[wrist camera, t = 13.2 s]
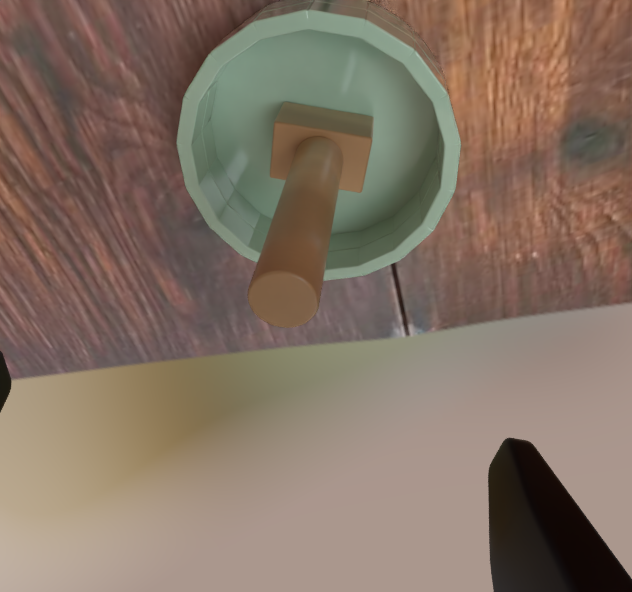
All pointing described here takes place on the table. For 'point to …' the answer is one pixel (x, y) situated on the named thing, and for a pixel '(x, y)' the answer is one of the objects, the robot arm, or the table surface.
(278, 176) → the stirring stick
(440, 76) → the bowl
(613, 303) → the table surface
